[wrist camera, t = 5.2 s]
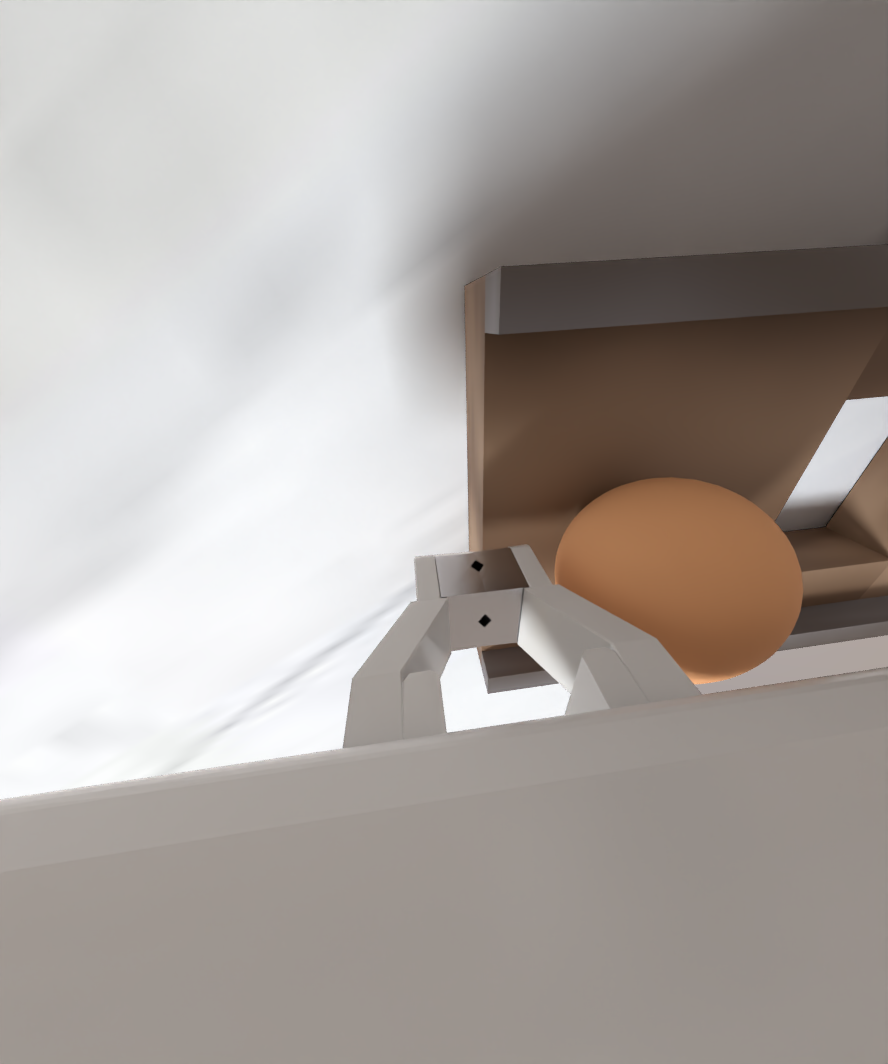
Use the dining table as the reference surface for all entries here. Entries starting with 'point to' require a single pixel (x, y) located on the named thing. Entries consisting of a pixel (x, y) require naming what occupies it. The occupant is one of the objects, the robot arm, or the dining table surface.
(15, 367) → the dining table surface
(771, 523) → the ball
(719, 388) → the lane
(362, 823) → the robot arm
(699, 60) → the dining table surface
